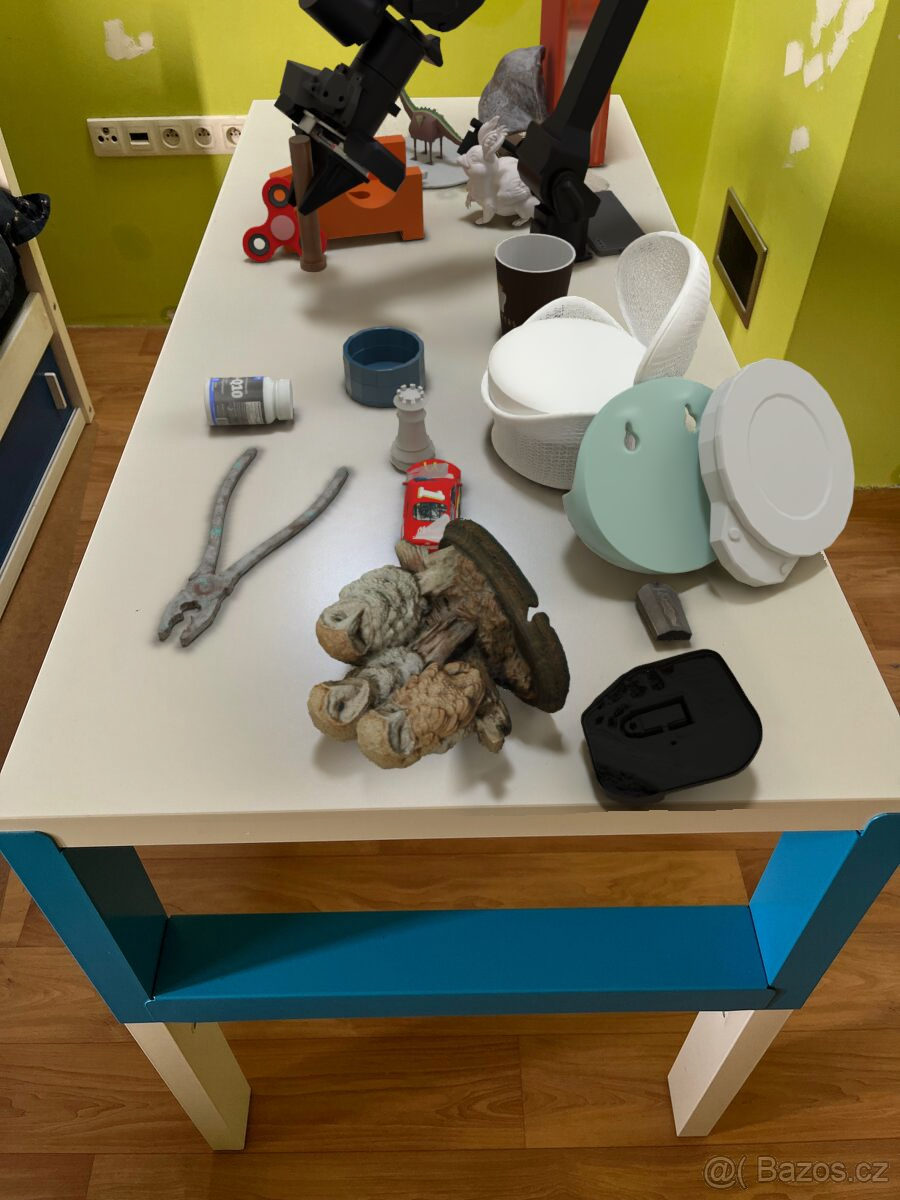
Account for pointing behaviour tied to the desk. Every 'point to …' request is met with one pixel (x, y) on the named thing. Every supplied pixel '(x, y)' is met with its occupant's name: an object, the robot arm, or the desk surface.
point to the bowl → (382, 364)
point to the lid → (773, 470)
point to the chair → (593, 356)
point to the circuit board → (513, 139)
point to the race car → (430, 502)
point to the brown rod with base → (308, 224)
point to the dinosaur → (432, 146)
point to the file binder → (569, 58)
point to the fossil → (516, 91)
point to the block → (663, 612)
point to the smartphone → (612, 226)
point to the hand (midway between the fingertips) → (295, 209)
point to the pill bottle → (247, 400)
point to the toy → (276, 225)
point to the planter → (644, 481)
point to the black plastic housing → (670, 728)
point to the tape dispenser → (371, 203)
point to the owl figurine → (436, 651)
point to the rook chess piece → (411, 429)
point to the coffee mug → (531, 275)
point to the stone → (596, 182)
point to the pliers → (213, 588)
